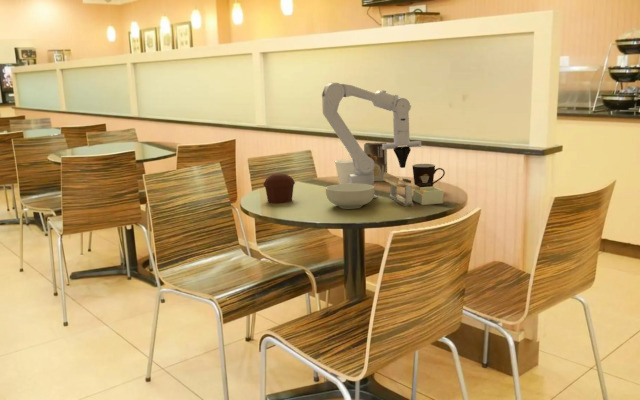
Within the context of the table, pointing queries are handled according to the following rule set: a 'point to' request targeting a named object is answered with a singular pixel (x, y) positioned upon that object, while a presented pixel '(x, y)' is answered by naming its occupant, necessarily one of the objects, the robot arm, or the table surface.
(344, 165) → the cup
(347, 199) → the cereal bowl
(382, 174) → the coffee box
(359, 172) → the robot arm
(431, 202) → the bin
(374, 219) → the table surface
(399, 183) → the tan flat piece
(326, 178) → the table surface
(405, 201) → the lever stand
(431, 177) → the coffee mug
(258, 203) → the table surface
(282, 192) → the muffin
